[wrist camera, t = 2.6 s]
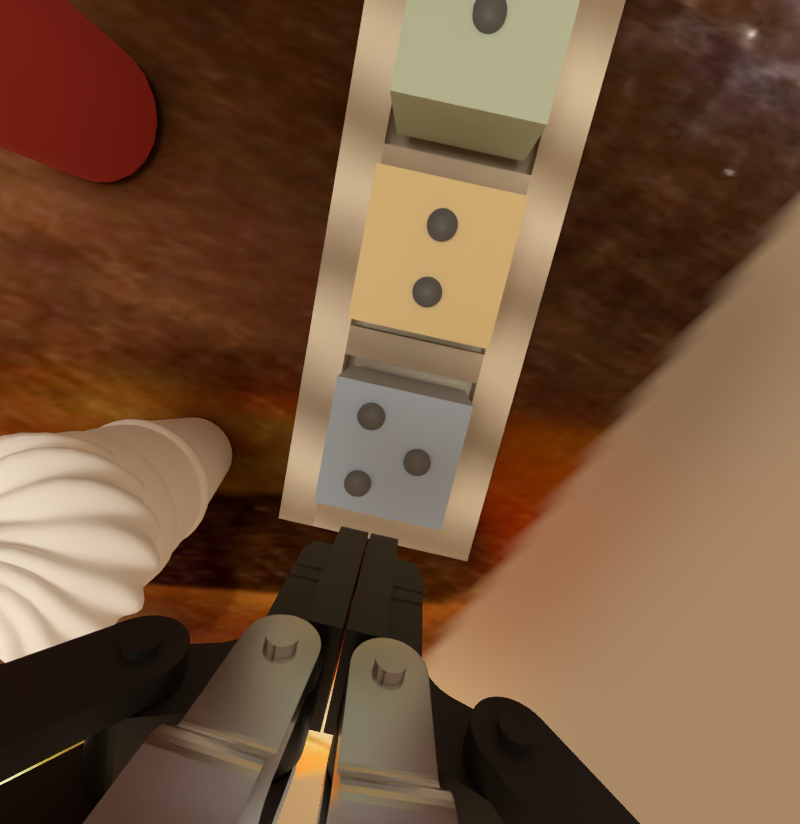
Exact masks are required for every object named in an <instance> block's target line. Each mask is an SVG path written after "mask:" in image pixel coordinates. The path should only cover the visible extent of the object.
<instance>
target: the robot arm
mask: <svg viewBox="0 0 800 824" xmlns="http://www.w3.org/2000/svg"><path fill="white" fill-rule="evenodd" d="M368 534H369V532H365V531H361V530H357V529H352V528H348V527H344V526H341V528H340V530H339V533H338V535H337V538H336V540H335V543H334V545H333V544H328V543H324V542H320V541H315V542H313V543H312V544H310V545H309V546H307V547H306V548H304V549H302V551H301V553H300V555H299V556H298V558H297V560H296V562H295V565H294V566H293V568H292V570H291V571H290V573H289V576H288V577H287V579H286V581H285V583H284V585H283V586H282V588H281V590H280V592H279V594H278V596H277V598H276V599H275V601H274V603H273V605H272V607H271V609H270V611H269V613H268V614H267V616H266V617H263V618H261V619H259V620H257V621H255V622H254V623H252V624H251V625H250V626H248V627H247V629H246V630H245V631H244V632H243V634H242V635H241V637H240V638H239V639H236V640H233V641H229V642H223V643H204V644H190V636H189V633H188V631H187V629H186V628H185V626H184V625H183V624H181V623H180V622H179V621H177V620H174V619H172V618H169V617H164V616H142V617H137V618H133V619H129V620H126V621H123V622H120V623H118V624H115V625H112V626H109V627H106V628H103V629H101V630H98V631H95V632H92V633H89V634H86V635H84V636H81V637H78V638H75V639H72V640H69V641H66V642H64V643H61V644H58V645H55V646H52V647H49V648H47V649H44V650H41V651H38V652H35V653H32V654H30V655H27V656H24V657H21V658H18V659H15V660H13V661H10V662H7V663H4V664H1V665H0V782H2V781H4V780H6V779H8V778H10V777H12V776H14V775H16V774H17V773H19V772H21V771H23V770H25V769H27V768H29V767H31V766H33V765H35V764H37V763H39V762H41V761H43V760H45V759H47V758H49V757H51V756H53V755H55V754H57V753H59V752H61V751H63V750H65V749H67V748H69V747H71V746H73V745H75V744H77V743H79V742H81V741H83V740H84V743H83V744H81V745H79V746H77V747H75V748H73V749H71V750H69V751H67V752H65V753H63V754H61V755H59V756H57V757H55V758H53V759H51V760H49V761H47V762H45V763H43V764H41V765H39V766H37V767H35V768H33V769H32V770H30V771H28V772H26V773H24V774H22V775H20V776H18V777H16V778H14V779H12V780H10V781H8V782H6V783H4V784H2V785H0V824H276V823H277V820H278V817H279V814H280V812H281V809H282V806H283V804H284V801H285V798H286V795H287V793H288V790H289V787H290V784H291V782H292V779H293V776H294V773H295V769H296V764H297V762H298V760H299V759H300V757H301V755H302V752H303V749H304V745H305V742H306V738H307V735H308V731H309V730H313V731H318V732H320V730H321V726H322V723H323V719H324V715H325V711H326V707H327V703H328V699H329V695H330V691H331V687H332V684H333V680H334V676H335V672H336V668H337V664H338V660H339V656H340V652H341V648H342V652H341V656H340V661H339V665H338V670H337V674H336V679H335V683H334V688H333V692H332V697H331V701H330V706H329V710H328V715H327V719H326V724H325V728H324V733H327V734H332V735H333V739H332V744H331V748H330V753H329V758H328V762H327V767H326V771H325V775H324V780H323V785H322V792H321V799H320V805H319V811H318V818H317V824H640V823H639V822H638V821H637V820H636V819H635V818H634V817H633V816H632V815H631V814H630V812H629V811H627V810H626V808H625V807H624V806H623V805H622V804H621V803H620V802H619V801H618V800H617V799H616V798H615V797H614V796H613V795H612V794H611V792H610V791H609V790H608V789H607V788H606V787H605V786H604V785H603V784H602V783H601V782H600V781H599V780H598V779H597V778H596V776H595V775H594V774H593V773H592V772H590V770H589V769H588V768H587V767H586V766H585V765H584V764H583V763H582V762H581V761H580V760H579V758H578V757H577V756H576V755H575V754H574V753H573V752H572V751H571V750H570V749H569V748H568V747H567V746H566V745H565V744H564V743H563V742H562V741H561V740H560V738H559V737H557V735H556V734H555V733H554V732H553V731H552V730H551V729H550V728H549V727H548V726H547V725H546V724H545V723H544V721H543V720H542V719H541V718H540V717H538V716H537V715H536V714H535V713H534V712H533V711H532V710H530V709H529V708H527V707H526V706H524V705H523V704H521V703H519V702H517V701H515V700H512V699H509V698H504V697H489V698H486V699H483V700H482V701H480V702H479V703H478V704H477V705H476V706H475V708H474V709H472V708H470V707H468V706H466V705H465V704H463V703H461V702H459V701H457V700H455V699H454V698H452V697H450V696H448V695H447V694H446V693H444V692H443V691H442V690H440V689H439V688H438V687H437V686H436V685H435V684H434V682H433V681H432V680H431V679H430V677H429V676H428V670H427V667H426V664H425V662H424V661H423V659H422V602H423V595H422V593H423V577H422V575H421V573H420V572H419V570H418V568H417V566H416V565H415V563H411V562H407V561H402V560H398V559H396V556H397V548H398V539H396V538H392V537H387V536H383V535H379V534H374V533H371V536H370V539H369V543H368V547H367V551H366V555H365V559H364V563H363V567H362V571H361V575H360V570H361V566H362V561H363V557H364V552H365V548H366V543H367V539H368ZM359 575H360V578H359ZM358 579H359V582H358ZM357 584H358V586H357ZM356 588H357V590H356ZM355 593H356V594H355ZM354 597H355V598H354ZM353 601H354V602H353ZM352 605H353V606H352ZM351 609H352V610H351ZM350 613H351V614H350ZM349 617H350V618H349ZM345 633H346V634H345ZM344 637H345V638H344ZM343 641H344V643H343ZM342 645H343V647H342Z"/></svg>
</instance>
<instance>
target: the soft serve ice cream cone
mask: <svg viewBox="0 0 800 824" xmlns="http://www.w3.org/2000/svg"><path fill="white" fill-rule="evenodd" d="M231 462H232V449H231V445H230V442H229V440H228V438H227V436H226V435H225V433H224V432H223V431H222V430H221V429H220V428H219V427H218V426H216V425H215V424H214V423H212V422H210V421H208V420H205V419H202V418H194V417H190V418H178V419H166V420H153V421H146V420H136V419H126V420H119V421H114V422H112V423H109V424H106V425H104V426H102V427H101V428H96V429H91V430H87V431H83V432H80V431H70V432H62V433H56V434H54V433H16V434H10V435H3V436H0V659H1V660H2V661H4V662H5V663H7V662H10V661H13V660H15V659H18V658H21V657H24V656H27V655H30V654H32V653H35V652H38V651H41V650H44V649H47V648H49V647H52V646H55V645H58V644H61V643H64V642H66V641H69V640H72V639H75V638H78V637H81V636H84V635H86V634H89V633H92V632H95V631H98V630H101V629H103V628H106V627H109V626H112V625H115V624H116V622H117V621H118V619H119V618H121V617H122V616H126V615H130V614H134V613H137V612H138V611H139V610H141V609H142V607H143V603H144V594H143V587H144V586H145V585H146V584H147V583H148V582H150V581H151V580H152V579H153V578H154V577H155V576H156V575H157V574H158V573H160V572H161V571H162V569H163V568H164V566H165V565H166V563H167V562H168V561H169V559H170V557H171V554H172V552H173V551H174V550H175V548H176V547H177V546H178V545H179V544H180V542H181V541H182V540H183V539H185V538H187V537H188V536H189V535H190V534H191V533H192V532H193V531H194V530H195V529H196V528H197V526H198V525H199V524H200V522H201V521H202V519H203V517H204V514H205V512H206V509H207V505H208V503H209V501H210V500H211V498H212V497H213V495H214V493H215V492H216V490H217V488H218V487H219V485H220V484H221V482H222V480H223V479H224V477H225V475H226V474H227V472H228V471H229V468H230V466H231Z"/></svg>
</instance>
